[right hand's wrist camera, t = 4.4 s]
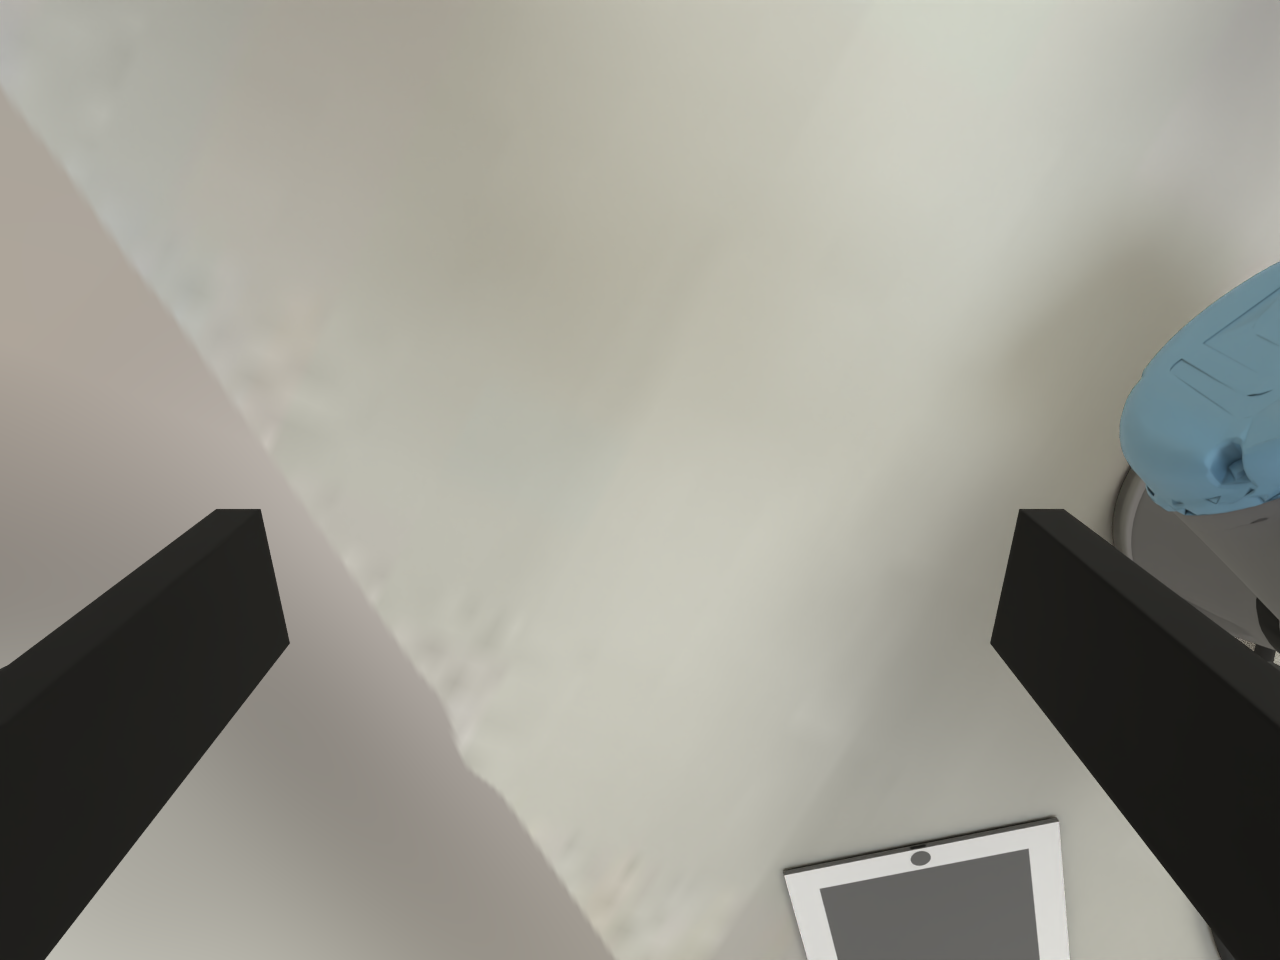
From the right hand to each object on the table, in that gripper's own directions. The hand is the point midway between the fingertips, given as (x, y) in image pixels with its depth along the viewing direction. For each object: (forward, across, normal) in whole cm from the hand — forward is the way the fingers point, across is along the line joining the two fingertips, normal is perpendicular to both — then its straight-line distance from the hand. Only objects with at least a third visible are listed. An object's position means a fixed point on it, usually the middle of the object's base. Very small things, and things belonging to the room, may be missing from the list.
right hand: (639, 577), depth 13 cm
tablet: (+28, +25, -54) cm, 65 cm away
